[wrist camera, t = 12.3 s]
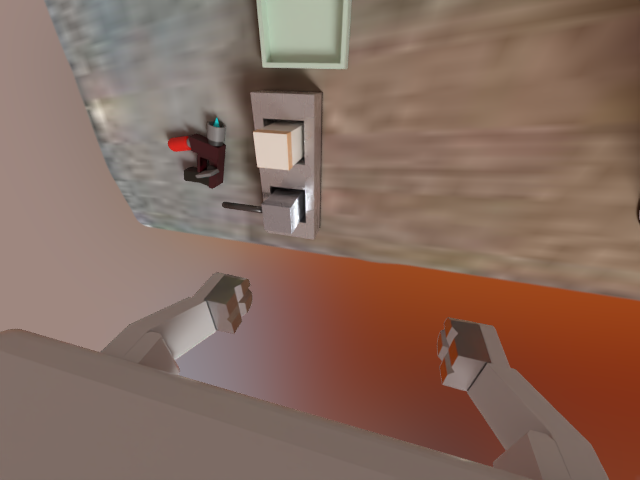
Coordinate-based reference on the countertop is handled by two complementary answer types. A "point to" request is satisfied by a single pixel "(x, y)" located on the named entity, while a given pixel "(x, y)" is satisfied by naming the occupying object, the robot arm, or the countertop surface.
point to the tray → (304, 33)
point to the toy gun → (204, 154)
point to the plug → (279, 144)
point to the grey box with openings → (303, 178)
